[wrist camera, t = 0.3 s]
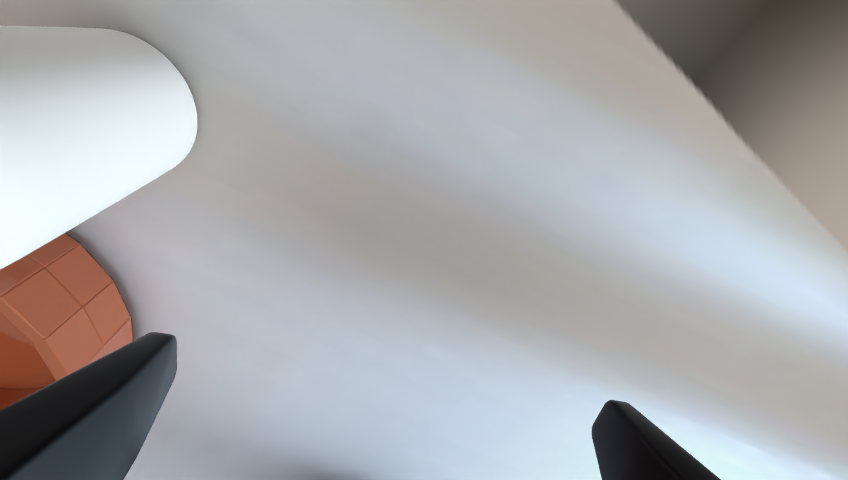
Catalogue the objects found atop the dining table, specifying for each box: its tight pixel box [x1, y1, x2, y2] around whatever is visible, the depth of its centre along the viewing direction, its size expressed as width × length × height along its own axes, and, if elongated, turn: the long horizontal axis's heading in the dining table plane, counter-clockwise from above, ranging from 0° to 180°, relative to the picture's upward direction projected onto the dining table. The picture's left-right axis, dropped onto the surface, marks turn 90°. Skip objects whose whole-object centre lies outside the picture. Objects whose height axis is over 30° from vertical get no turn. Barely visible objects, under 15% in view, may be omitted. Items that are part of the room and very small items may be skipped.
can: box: [0, 26, 197, 269], centre depth 14 cm, size 6×6×12 cm
